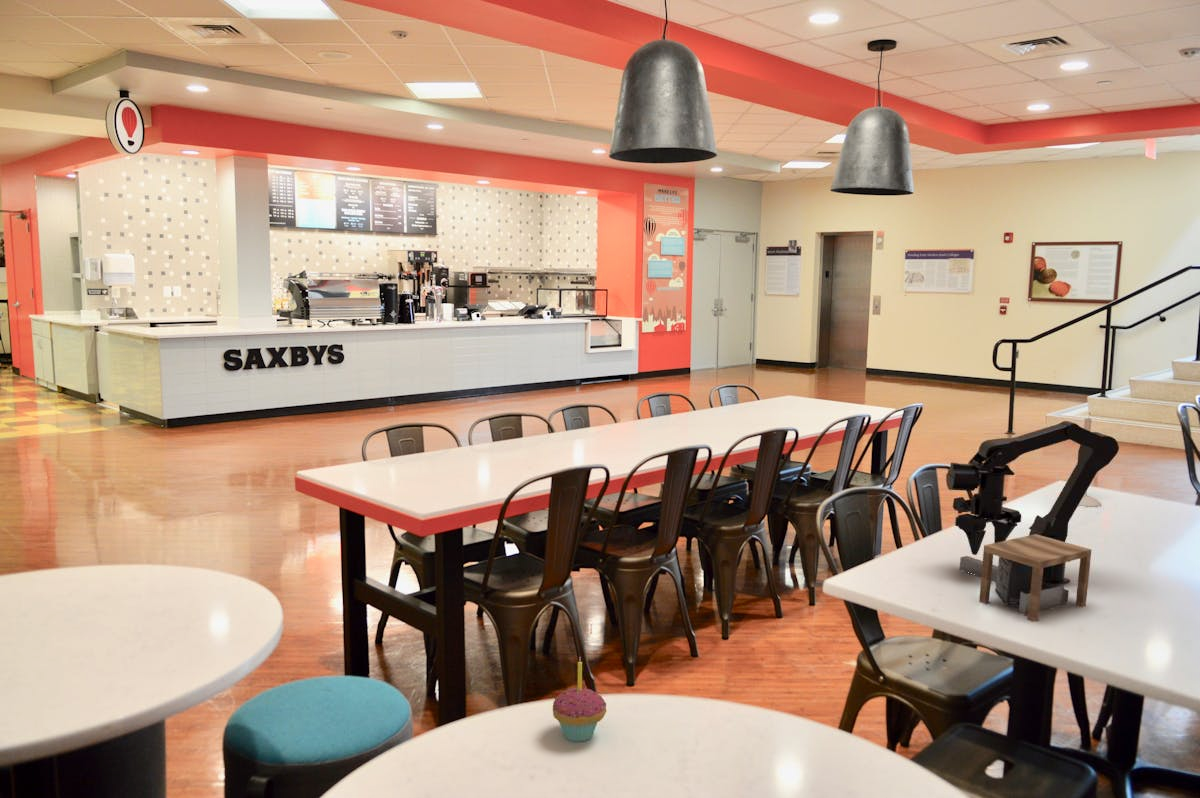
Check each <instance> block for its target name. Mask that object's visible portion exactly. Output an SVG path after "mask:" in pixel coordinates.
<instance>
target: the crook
mask: <svg viewBox="0 0 1200 798" xmlns="http://www.w3.org/2000/svg"><path fill="white" fill-rule="evenodd" d="M982 564H983V560H980V559H977V558H975V557H972V556H970V555H969V556H968V555H965V556H960V560H959V571H961V570H963V571H962V572H964V571H966V572H965V573H967V572H969V573H972V574H975V575H977V576H976V577H978V576H980V577H979V578H981V575H982ZM997 572H998V565H995V564H992V575H991V582H992V581H994V582H996V581H997ZM969 573H968V574H969ZM972 574H971V575H972ZM975 575H974V576H975ZM994 582H993V583H994ZM1030 591H1031V590H1026V591H1022V592H1021V593H1020V604H1019V606H1018V614H1020V613H1021V615H1023V616H1028V615H1027V614H1028V612H1029V601H1030ZM1069 591H1070V590H1069V589H1065V584H1059V583H1057V584H1050V583H1047V582H1043V581H1042V587H1041V597H1040V608H1039V611H1040V612H1044V611H1047V610H1051V608H1052V609H1056V608H1059V607H1060V608H1061V607H1063V606H1067V605H1068V603H1069ZM1043 610H1044V611H1043Z"/></svg>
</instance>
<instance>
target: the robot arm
mask: <svg viewBox="0 0 1200 798" xmlns="http://www.w3.org/2000/svg"><path fill="white" fill-rule="evenodd" d="M1068 440H1070V441H1072V442H1074V443H1076V444H1078V445H1079V447H1078V451H1077V452H1078V453H1077V463H1076V465H1075V467H1074V468H1073V470H1072V472H1071V474H1070V475H1069V477H1068V479H1067V481H1066V482H1065V484H1064V486H1063V488H1062V490H1061V491H1060V493H1059V495H1058V497H1057V498H1056V500H1055V502H1054V504H1053V505H1052V506H1051V509H1050V511H1049V512H1048V513H1046V514H1045V515H1044V516H1043V517H1042V516H1040V515H1039V514H1038V515H1036V516H1035V518H1034V522H1033V523H1032V524H1031V525H1030V527H1028V530H1030V531H1029V534H1028V536H1030V535H1034V534H1037V535H1041V536H1044V537H1048V538H1052V539H1055V540H1059V541H1063V542H1067V538H1068V534H1069V533H1068V532H1069V531H1068V529H1069V522H1070V520H1071V519H1072V516H1073V515H1074V514H1075V511H1076V510H1077V508H1078V505H1079V503H1080V501H1081V500H1082V498H1083V496H1084V494H1085V493H1086V491H1087V492H1088V489H1089V488H1090V486H1091V484H1092V482H1093V480H1094V479H1095V477H1096V476H1097V474H1098V473H1099V471H1101V470H1103V469H1104V468H1105V467H1106V466H1108V465H1109V464H1111V462H1112V461H1113V460H1114V458H1115V457H1116V456H1117V454H1118V453H1119V451H1120V446H1119V442H1118V441H1117V439H1116V438H1114V437H1113V436H1110V435H1107V434H1105V433H1101V432H1097V431H1091V430H1090V431H1088V430H1086V429H1084V427H1081V426H1080V425H1078V424H1077V423H1075V422H1072V421H1068V420H1064V421H1061V422H1060V423H1057V424H1054V425H1050V426H1047V427H1044V428H1041V429H1038V430H1034V431H1032V432H1028V433H1025V434H1022V435H1018V436H1015V437H1001V438H994V439H987V440H985V441H982V443H980V445H979V446H978V447H979V448H978V451H977V452H976V453H975V454H974V455H973V457H971V459H970V460H969V461H968V463H959V462H950V465H949V466H950V467H949V468H948V470H947V472H946V476H945V478H946V479H945V480H946V481H945V482H946V483H945V484H946V486H947V489H948V491H965V492H966V491H970V492H972V491H973V492H974V491H975V490H976V489H977V490H978V491H977V493H974V494H973V495H972V498H969V499H965V498H964V497H963V496H960V497H953V503H952V508H953V510H954V511H957V514H958V515H957V516H956V517H955V519H954V520H955V521H954V524H955V525H954V526H955V527H958V528H959V530H961V531H963V532H964V533H965V534H966V535H965V536H966V538H967V540H968V544H969V547H970V552H971V554H972V555H974V556H976V555H978V553H979V551H980V549H981V546H982V543H983V541H984V537H985V535H986V530H985V529H986V527H987V523H991V525H992V526H993V528H994V531H993V532H994V537H993V538H994V539H993V540H994V542H993V543H997V542H1002V541H1006V540H1007V539H1008V537H1009V536H1010V535H1011V534H1012V532H1013V530H1014V529H1015V528H1016V527H1018V524H1019V523H1022V514H1021V512H1020V510H1016V509H1012V508H1008V507H1004V506H1003V503H1004V502H1007V500H1008V497H1007V496H1006V495H1004V490H1005V480H1006V479H1005V477H1006V476H1014V475H1015V472H1014V471H1012V469H1011V468H1010V466H1009V465H1008V464H1010V463H1011V462H1014V461H1016V460H1017V459H1018V458H1019V457H1020V456H1022V455H1024V454H1027V453H1031V452H1034V451H1036V450H1039V449H1044V448H1047V447H1049V446H1053V445H1056V444H1059V443H1062V442H1065V441H1068ZM1069 562H1071V561H1068V562H1064V563H1060V564H1056V565H1052V566H1049V567H1045V568H1043V577H1042V582H1045V583H1048V584H1051V585H1053V584H1057V583H1059V584H1062V585H1064V584H1066V583H1070V581H1071V579H1069V578H1067V577H1065V572H1066V563H1069Z"/></svg>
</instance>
